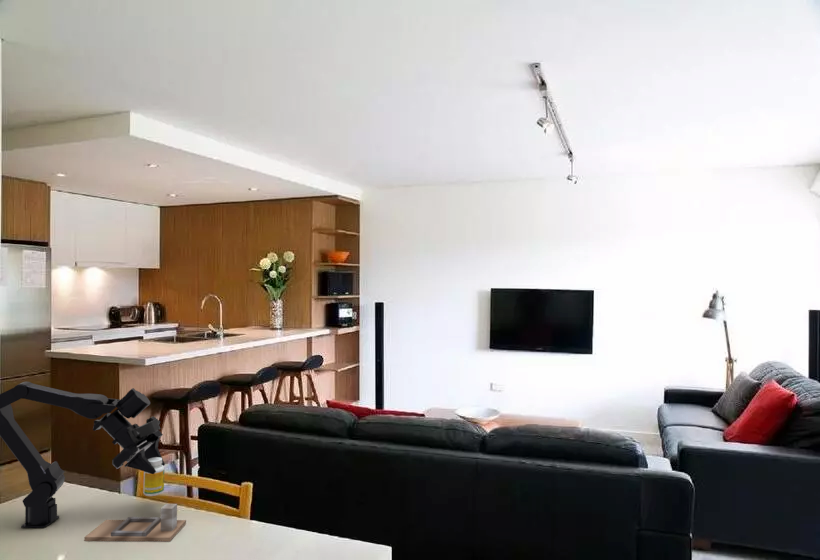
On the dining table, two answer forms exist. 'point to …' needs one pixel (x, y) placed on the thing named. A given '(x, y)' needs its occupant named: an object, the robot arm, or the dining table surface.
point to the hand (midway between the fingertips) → (159, 469)
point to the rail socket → (140, 527)
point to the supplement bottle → (154, 478)
